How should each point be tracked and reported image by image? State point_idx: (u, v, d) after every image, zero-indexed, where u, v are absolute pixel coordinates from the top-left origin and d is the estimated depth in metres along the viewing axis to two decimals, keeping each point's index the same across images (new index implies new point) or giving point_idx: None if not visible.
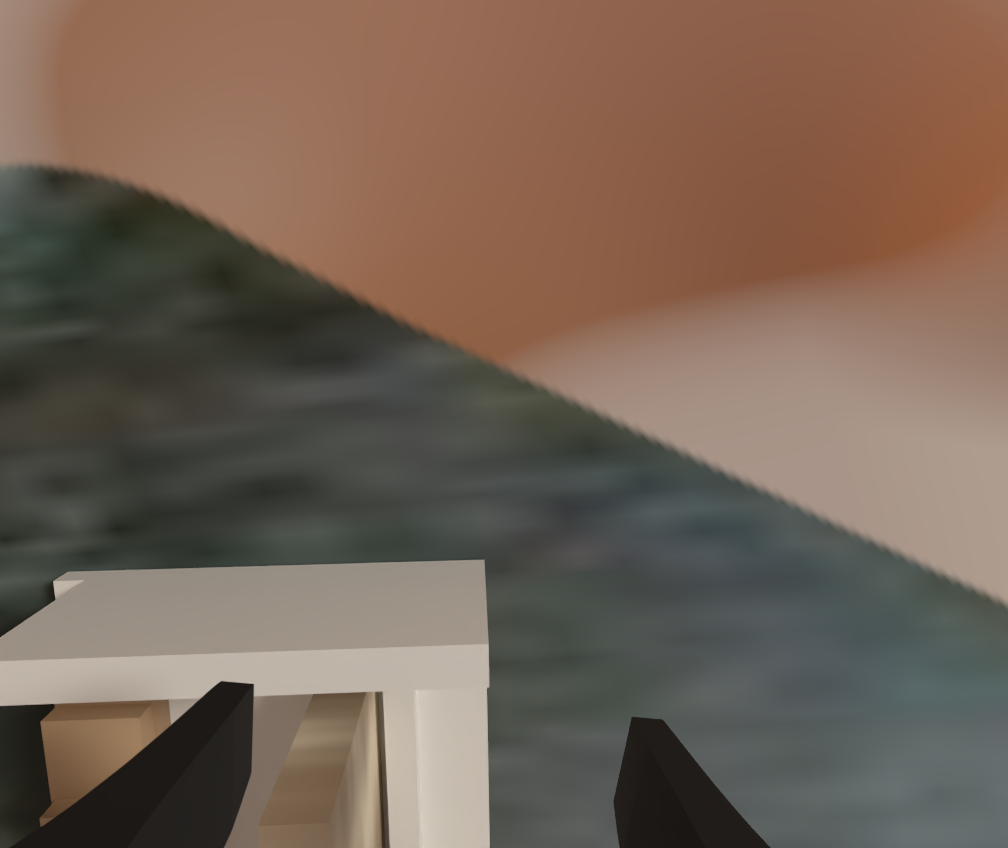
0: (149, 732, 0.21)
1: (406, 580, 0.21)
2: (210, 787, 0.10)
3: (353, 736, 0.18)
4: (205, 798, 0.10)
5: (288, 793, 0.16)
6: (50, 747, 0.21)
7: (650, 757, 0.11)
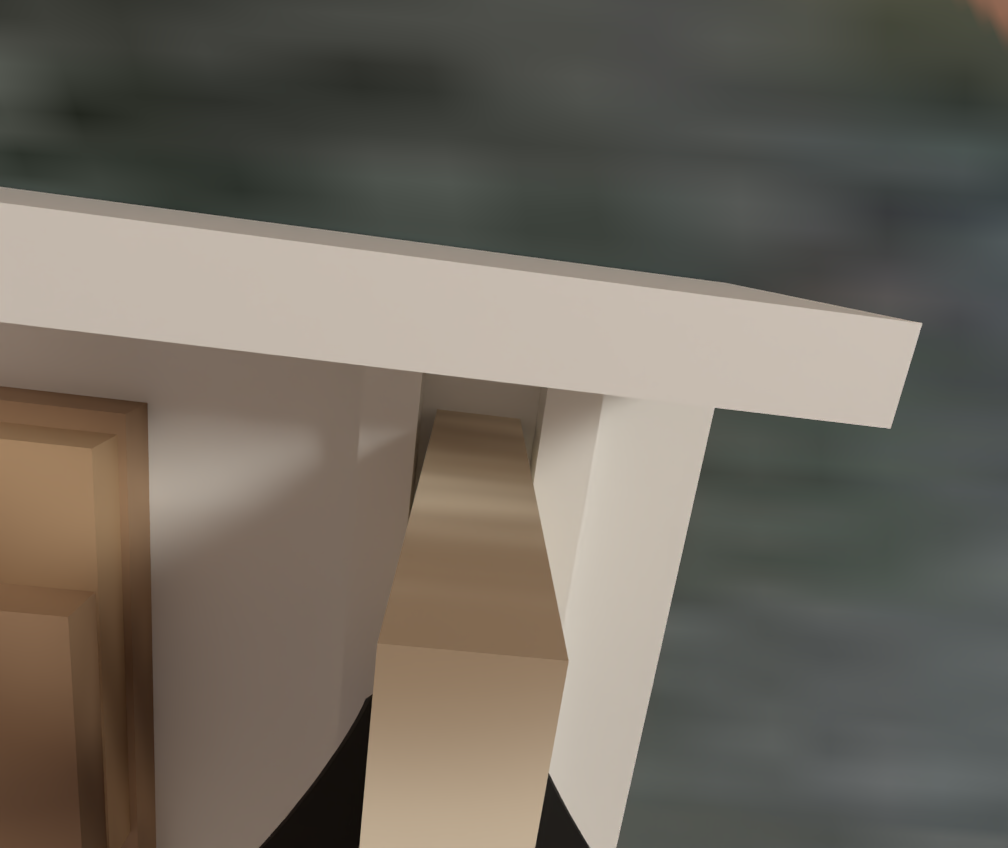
0: (109, 484, 0.12)
1: (616, 271, 0.11)
2: None
3: (536, 510, 0.09)
4: None
5: (435, 585, 0.06)
6: None
7: None
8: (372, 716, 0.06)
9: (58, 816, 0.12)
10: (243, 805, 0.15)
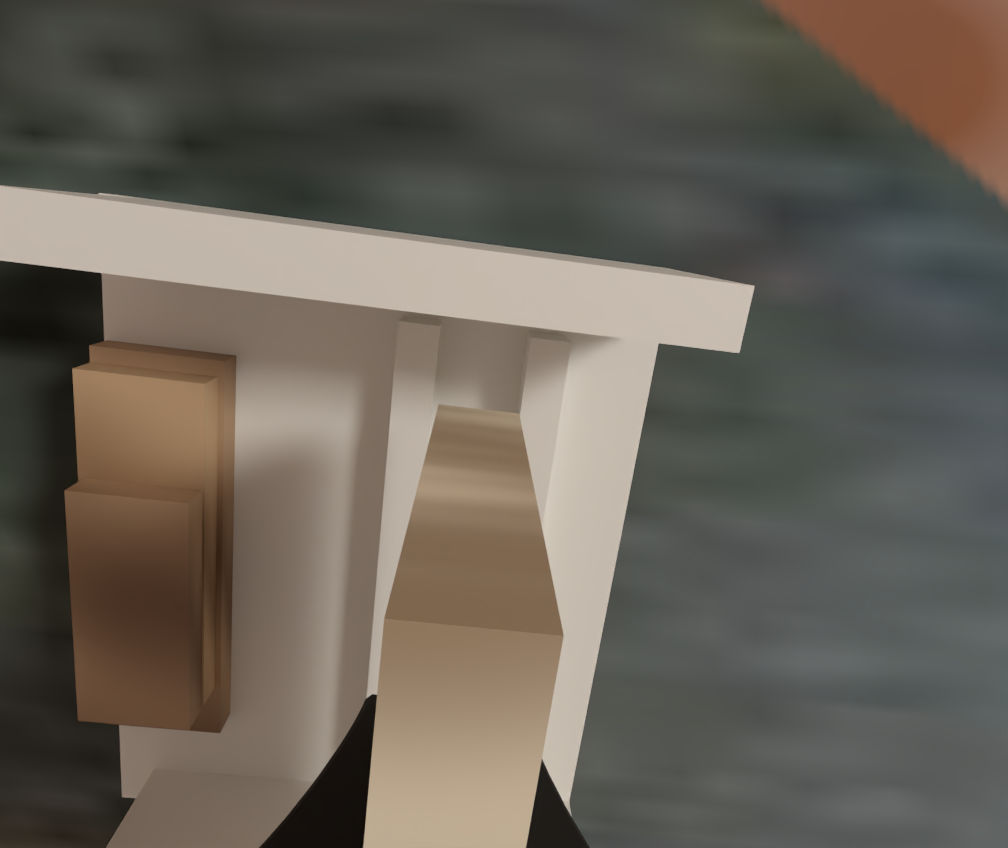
0: (213, 412, 0.16)
1: (579, 257, 0.16)
2: None
3: (534, 499, 0.09)
4: None
5: (438, 567, 0.07)
6: (83, 406, 0.15)
7: None
8: (379, 688, 0.06)
9: (173, 656, 0.17)
10: (298, 672, 0.20)
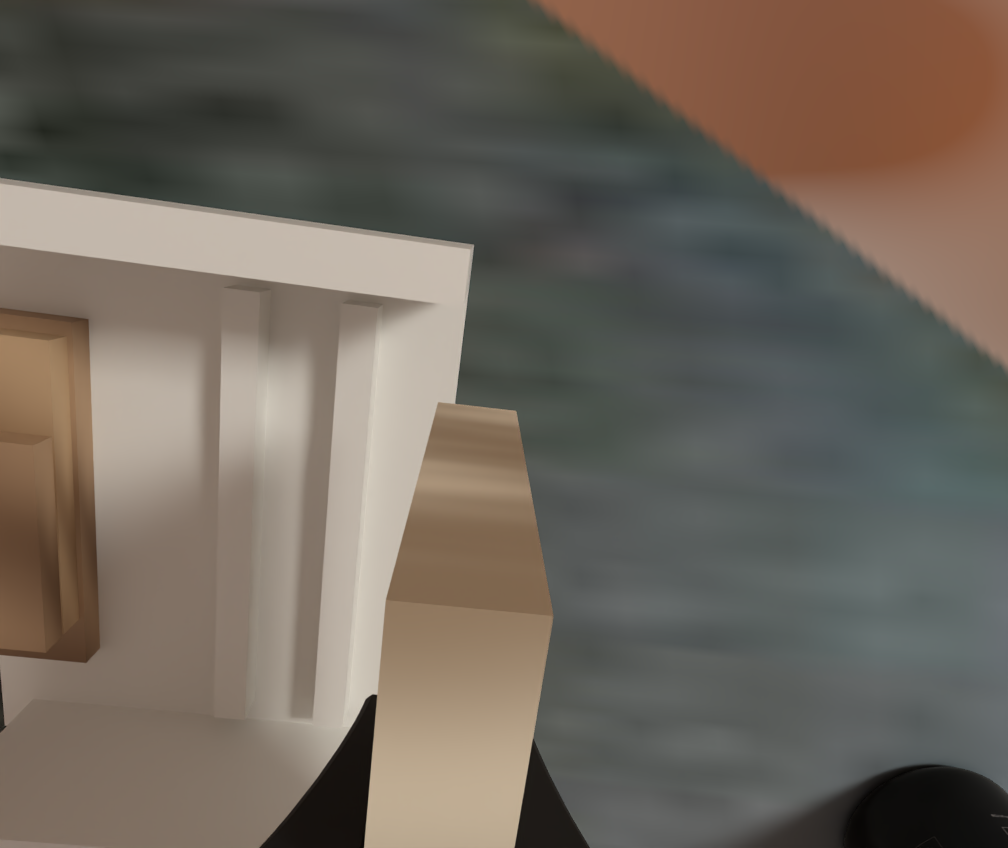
0: (61, 367, 0.18)
1: (380, 232, 0.18)
2: None
3: (529, 492, 0.09)
4: None
5: (436, 554, 0.07)
6: None
7: None
8: (381, 665, 0.06)
9: (27, 584, 0.19)
10: (160, 609, 0.22)
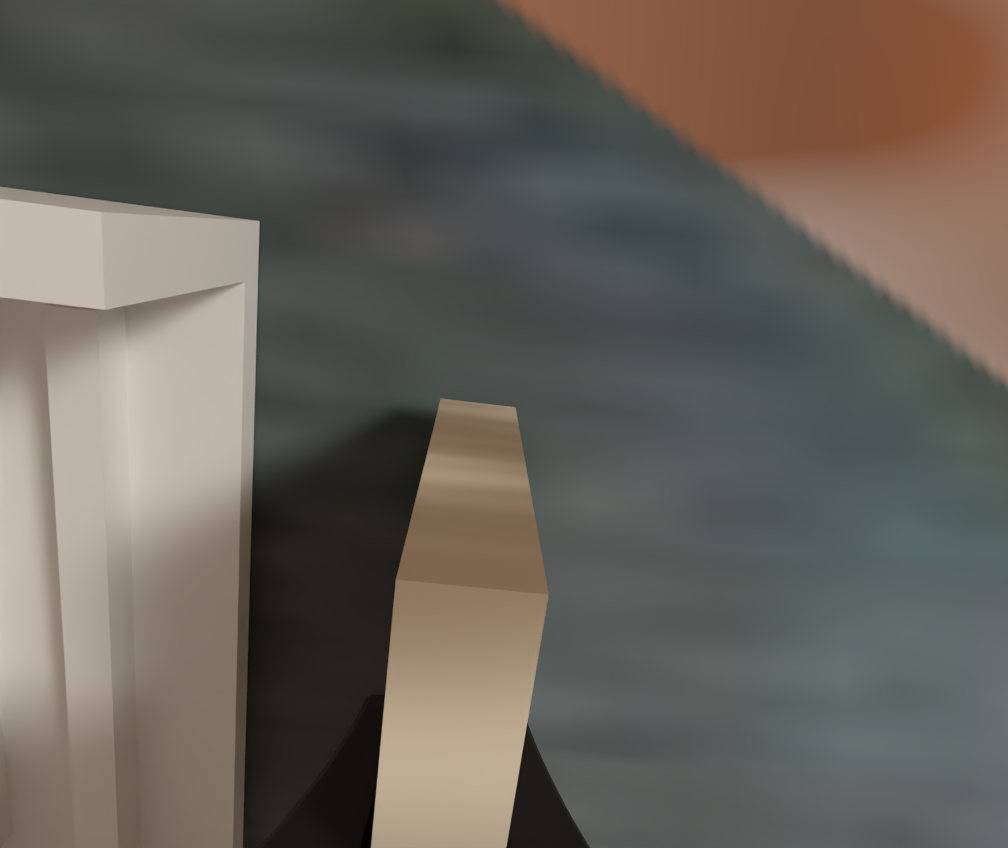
0: None
1: (91, 201, 0.12)
2: None
3: (527, 484, 0.10)
4: None
5: (441, 539, 0.08)
6: None
7: None
8: (391, 639, 0.07)
9: None
10: None
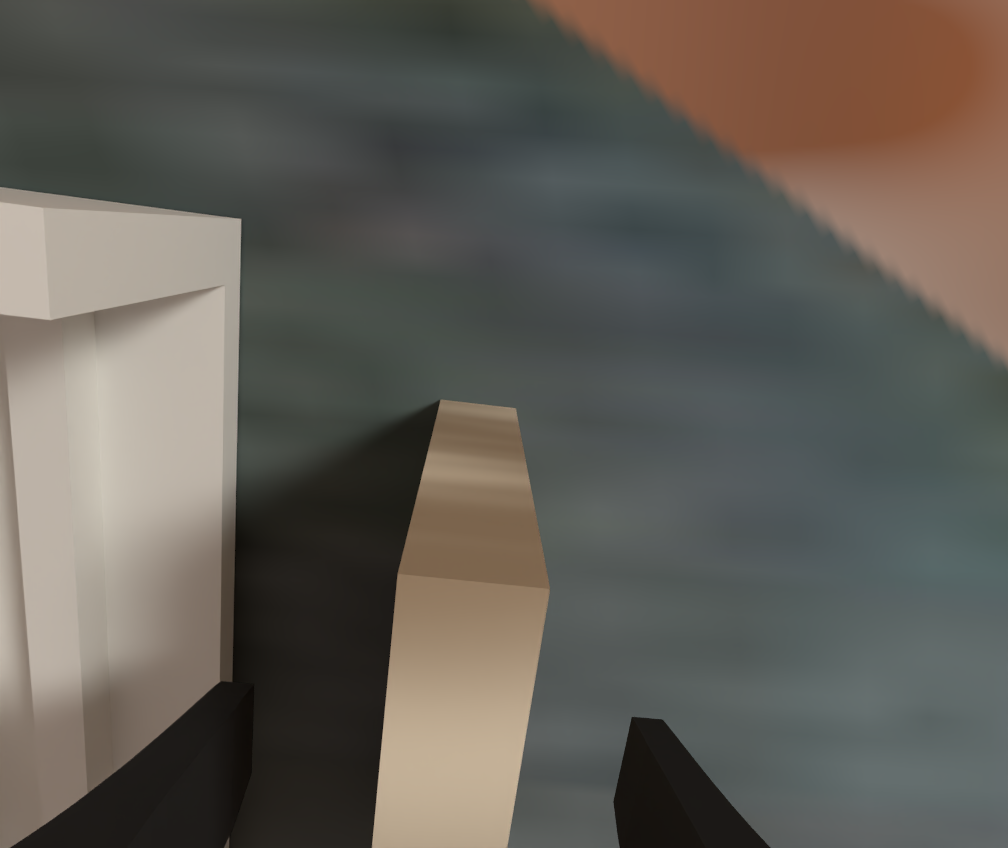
0: None
1: (54, 197, 0.11)
2: (210, 787, 0.10)
3: (527, 481, 0.10)
4: (205, 798, 0.10)
5: (442, 535, 0.08)
6: None
7: (650, 757, 0.11)
8: (393, 634, 0.07)
9: None
10: None
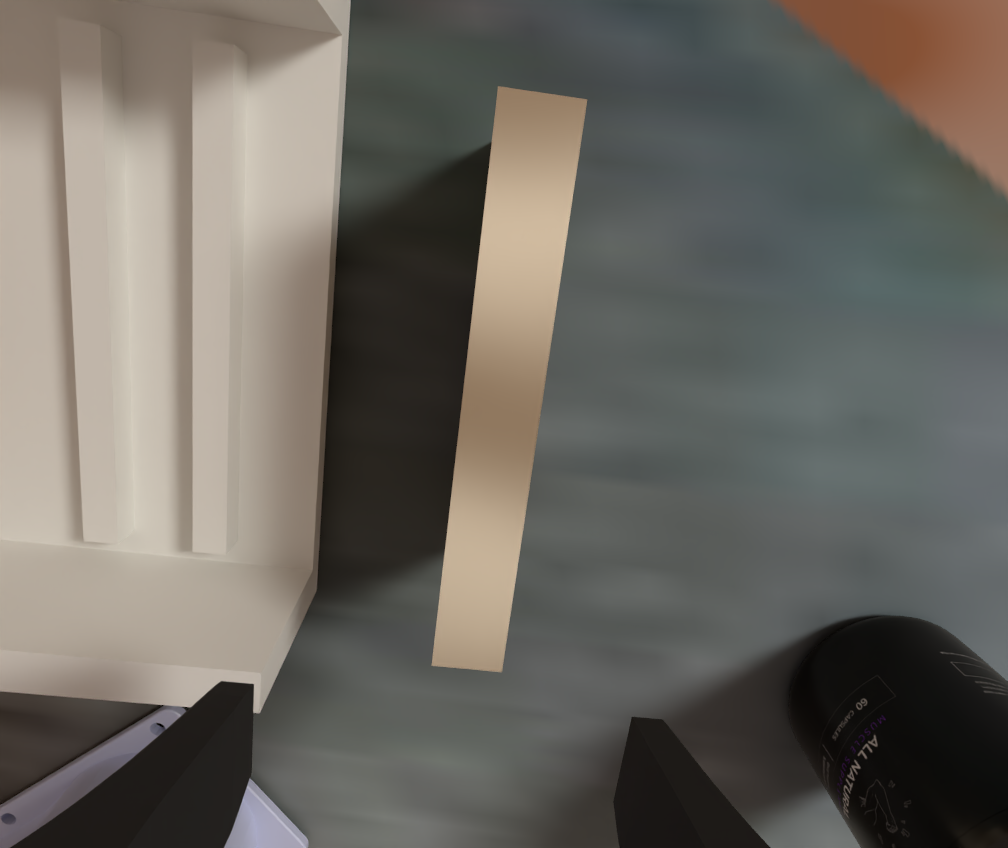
0: None
1: None
2: (210, 787, 0.10)
3: None
4: (205, 798, 0.10)
5: None
6: None
7: (650, 757, 0.11)
8: (494, 129, 0.12)
9: None
10: (23, 423, 0.20)
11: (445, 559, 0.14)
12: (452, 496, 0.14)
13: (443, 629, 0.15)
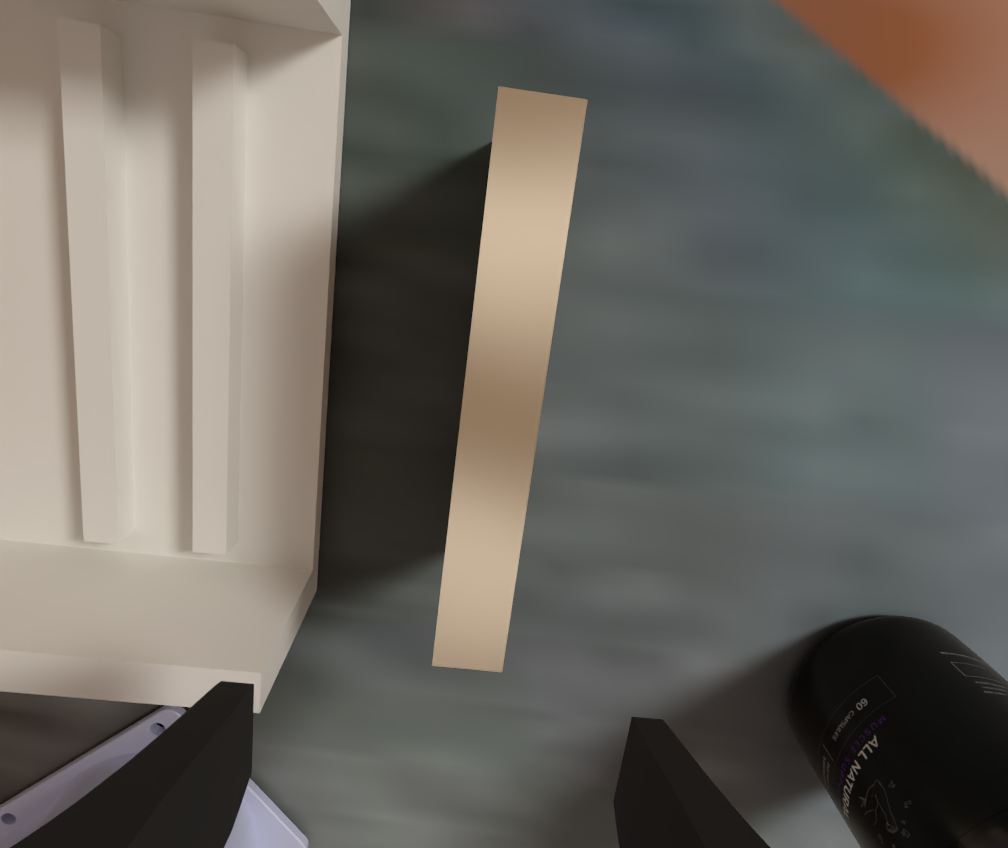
0: None
1: None
2: (210, 787, 0.10)
3: None
4: (205, 798, 0.10)
5: None
6: None
7: (650, 757, 0.11)
8: (494, 129, 0.12)
9: None
10: (23, 423, 0.20)
11: (445, 559, 0.14)
12: (452, 496, 0.14)
13: (443, 629, 0.15)
